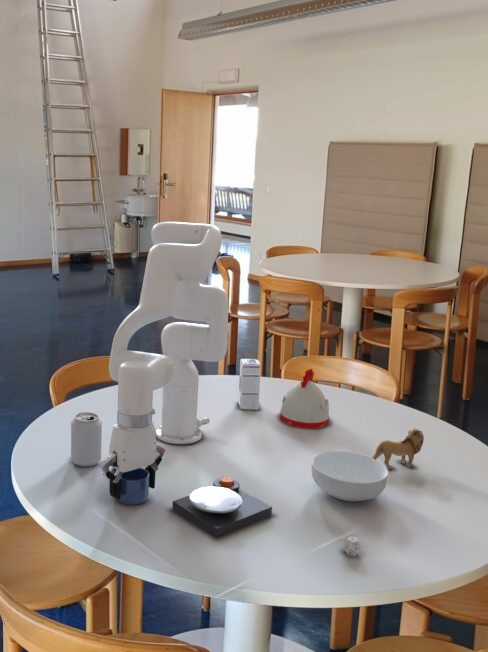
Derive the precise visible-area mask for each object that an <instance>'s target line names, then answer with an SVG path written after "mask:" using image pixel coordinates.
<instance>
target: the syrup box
mask: <svg viewBox="0 0 488 652" xmlns="http://www.w3.org/2000/svg"><path fill="white" fill-rule="evenodd" d="M260 389H261V362H260V360H259V359H257V358H240V361H239V381H238V400H237V401H238V402H237V403H238V407H239V409H240V410H248V411H249V410H250V411H253V410H254V411H258V410H259V407H260V406H259V405H260V404H259V403H260V391H261V390H260Z"/></svg>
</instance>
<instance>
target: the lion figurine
mask: <svg viewBox="0 0 488 652" xmlns="http://www.w3.org/2000/svg"><path fill="white" fill-rule="evenodd" d="M424 440H425V437H424V433H423V431H422V430H420V429H417V428H413V429H410V430H408V433H407V435H406V436H405V438H404V439H403V440H401V441H392V440H383V441H381V442H380V443H379V444H378V446H377V447H376V450H375V452H374V455H373V456H372V458H373V459H375V460H378V458H379V457H381V456H382V455H383V456H384V461H383V463H384V464H385V465H384V466H385V467H386V468H387V470H393V469H394V467H393V466H392V465H390V460H391V458H392V456H396V457H401V458H400V463H401V464H406V463H407V466H408V467H409V468H412V469H413V468H414V467H415V465H414V464H413V461H414V459H415V455H416V454H418V453H419V452H421V449H422V447H423V445H424ZM406 456H407V457H408V462H407V461H406Z"/></svg>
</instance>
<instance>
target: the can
mask: <svg viewBox="0 0 488 652" xmlns="http://www.w3.org/2000/svg"><path fill="white" fill-rule="evenodd" d="M102 430H103V421H102V420H101V419H100V415H99V414H97V413H95V412H91V411H84V412H78V413H75V414H74V416H73V419H72V420H71V422H70V460H71V462H73V463H74V465H76V466H78V467H93V466H96V465H97V464H98V463H99V462H101V460H102V442H103V441H102V440H103V439H102V433H103V431H102Z"/></svg>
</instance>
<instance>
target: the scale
mask: <svg viewBox="0 0 488 652" xmlns="http://www.w3.org/2000/svg"><path fill="white" fill-rule="evenodd" d="M221 478H222V477H219V478H217V479H216V478H215V479H214V481H213V483H212V487H222V488H227V489H230V490H232V491H234V492H236V493H237V494H239V495H240V497H241V499H242V504H241V506H240V507H239V508H238V509H237V510H235V511H232V512H227V513H212V512H207V511H203V510H201V509H198V508H196V507H195V506H194V505H193V504H192V503H191V502H190V494H189V495H187V496H184V497H181V498H177V499H175V500H172V509H171V510H172V511H174V512H175V513H177V514H178V515H180V516H181V517H183V518H185V519H186V520H187V521H189V522H191V523H192V524H194V525H196V526H197V527H199V528H200V529H202V530H204V531H205V532H207V533H208V534H210V535H212V536H213V537H215V538H216V539H217V538H220V537H222V536H225V535H227V534H230V533H232V532H235V531H237V530H240V529H242V528H245V527H247V526H250V525H251V524H255V523H257V522H259V521H262V520H264V519H267V518H268V517H272V515H273V514H272V513H273V512H272V511H273V506H271V505H269V504H267V503H266V502H264V501H262V500H260V499H258V498H256V497H254V496H253V495H251V494H250V493H247V492H245V491H243V490H242V489H240V487H241V484H240V483H239V480H238V481H237V480H236V479H234V478H232V479H233V486H231V487H224V486H221V485H220V479H221Z"/></svg>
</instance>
